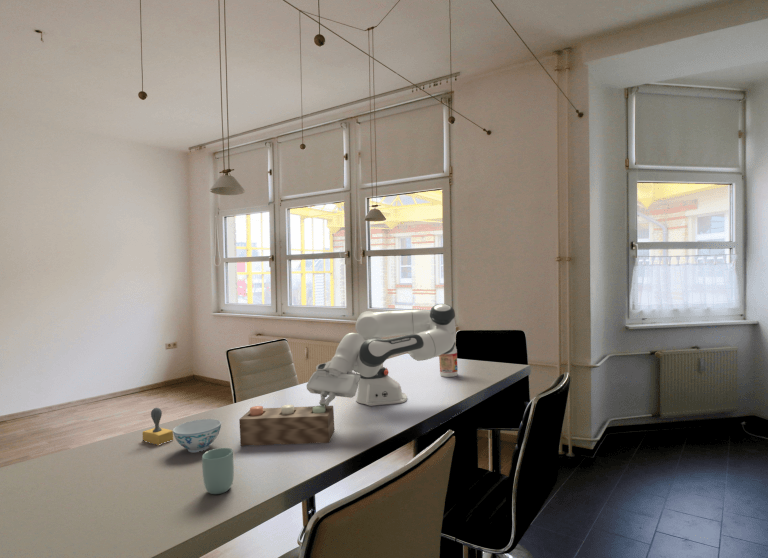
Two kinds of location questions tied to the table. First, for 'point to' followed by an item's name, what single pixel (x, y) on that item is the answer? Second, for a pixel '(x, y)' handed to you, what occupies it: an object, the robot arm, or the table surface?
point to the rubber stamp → (157, 430)
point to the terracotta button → (256, 410)
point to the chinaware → (197, 434)
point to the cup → (218, 470)
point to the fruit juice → (449, 363)
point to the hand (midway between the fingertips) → (323, 405)
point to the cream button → (287, 409)
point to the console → (287, 427)
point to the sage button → (319, 409)
